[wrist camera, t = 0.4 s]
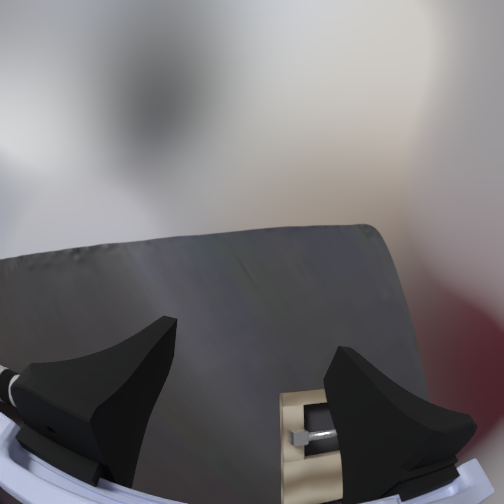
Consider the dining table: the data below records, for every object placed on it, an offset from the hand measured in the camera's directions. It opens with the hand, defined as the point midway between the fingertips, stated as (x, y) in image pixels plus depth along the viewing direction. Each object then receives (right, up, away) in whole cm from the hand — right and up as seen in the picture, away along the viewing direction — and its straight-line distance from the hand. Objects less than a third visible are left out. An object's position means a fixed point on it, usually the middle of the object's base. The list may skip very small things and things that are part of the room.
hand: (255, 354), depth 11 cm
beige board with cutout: (+12, -26, +22) cm, 36 cm away
